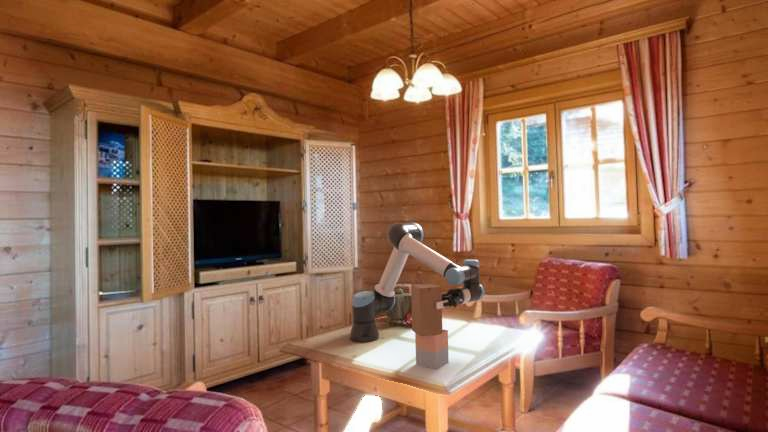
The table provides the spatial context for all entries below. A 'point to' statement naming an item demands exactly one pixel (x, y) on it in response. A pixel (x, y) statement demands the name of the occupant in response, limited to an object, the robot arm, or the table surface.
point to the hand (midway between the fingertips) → (425, 303)
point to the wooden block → (426, 309)
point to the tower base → (432, 358)
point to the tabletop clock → (400, 305)
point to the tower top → (432, 341)
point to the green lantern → (404, 288)
